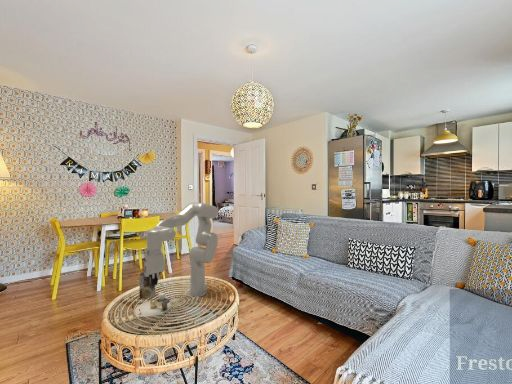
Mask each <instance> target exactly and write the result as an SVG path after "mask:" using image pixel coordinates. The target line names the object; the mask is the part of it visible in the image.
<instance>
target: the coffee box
mask: <svg viewBox="0 0 512 384" xmlns="http://www.w3.org/2000/svg"><path fill="white" fill-rule="evenodd" d="M144 275H145V272H144V271H143V272H141V271H140V274H139V299H141V300H142V299H143V300H144V299H149V298H150V299H151V298H155V297H156V285H155V286H154V285H152V283H151V277H146V276H144ZM154 275H155V274H154Z"/></svg>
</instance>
